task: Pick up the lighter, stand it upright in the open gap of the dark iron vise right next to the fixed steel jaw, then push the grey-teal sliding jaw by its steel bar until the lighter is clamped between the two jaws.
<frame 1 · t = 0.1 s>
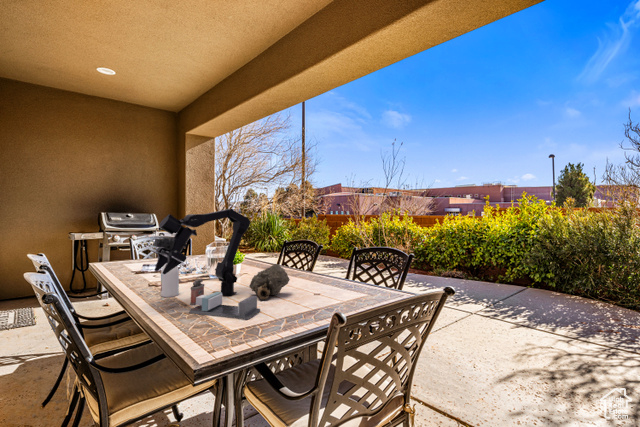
hand: (159, 272, 128), 15 cm above the table, tool tilted 35°, fingers open, 9 cm apart
vise: (225, 312, 124), on the table
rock: (266, 297, 147), on the table
milk bottle: (169, 295, 148), on the table
sliding jaw: (207, 300, 126), point 4 cm above the table, slide at 0.0 cm
lighter: (197, 303, 137), on the table
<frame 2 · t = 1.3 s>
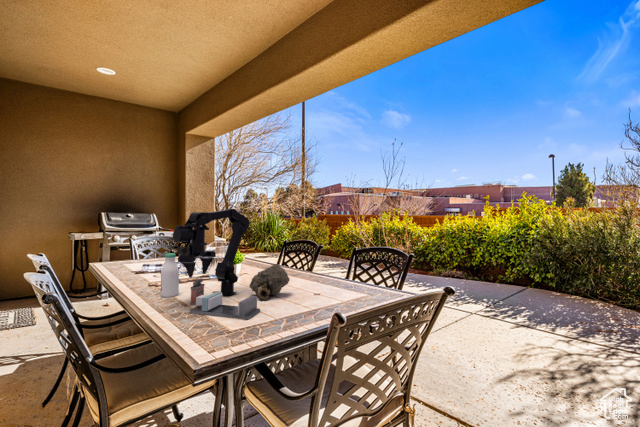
hand: (197, 275, 136), 12 cm above the table, tool pointing down, fingers open, 9 cm apart
nothing on the table moved.
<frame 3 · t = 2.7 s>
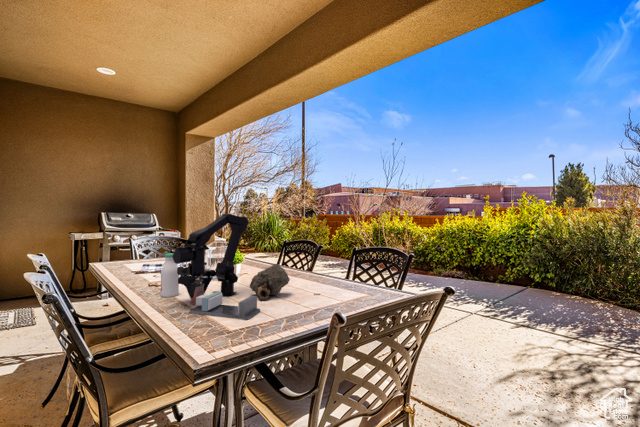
hand: (197, 295, 137), 3 cm above the table, tool pointing down, fingers closed on lighter, 8 cm apart
lighter: (197, 302, 137), on the table, touching gripper
everything else where it was.
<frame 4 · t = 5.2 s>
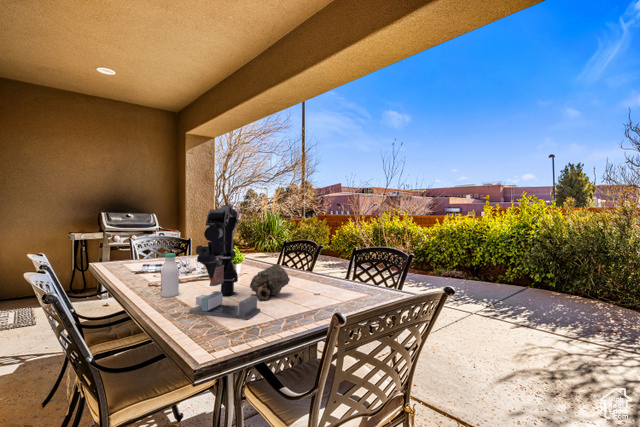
hand: (217, 276, 128), 13 cm above the table, tool pointing down, fingers closed on lighter, 8 cm apart
lighter: (216, 284, 128), point 10 cm above the table, touching gripper
everything else where it was.
when the fingers open (6 cm above the table, at t = 8.2 s): lighter drops 1 cm, resting on vise.
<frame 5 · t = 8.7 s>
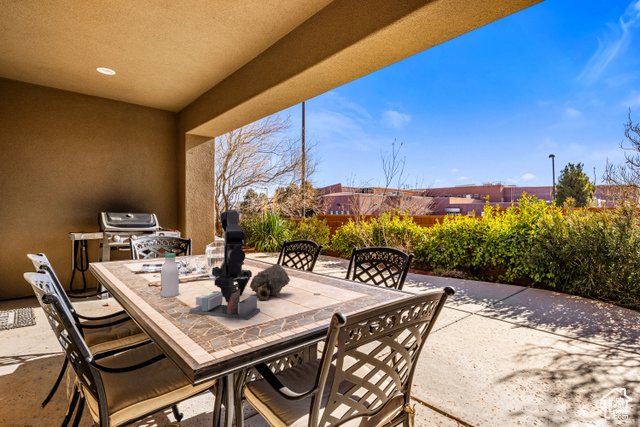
hand: (234, 299, 123), 6 cm above the table, tool pointing down, fingers open, 9 cm apart
lighter: (233, 310, 123), point 1 cm above the table, touching vise
everything else where it was.
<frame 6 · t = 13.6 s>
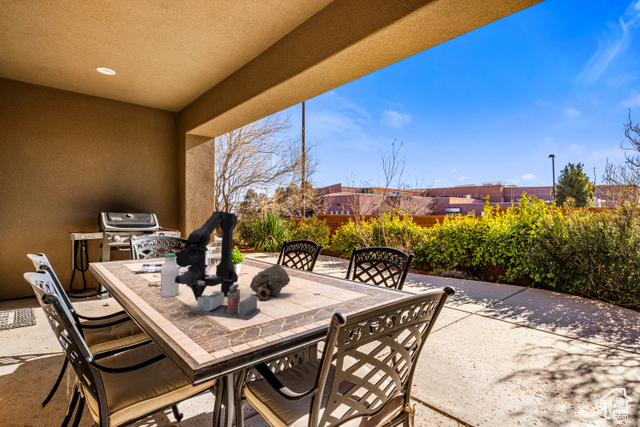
hand: (197, 300, 127), 4 cm above the table, tool pointing down, fingers closed
sliding jaw: (209, 300, 126), point 4 cm above the table, slide at 0.7 cm, touching gripper
everything else where it was.
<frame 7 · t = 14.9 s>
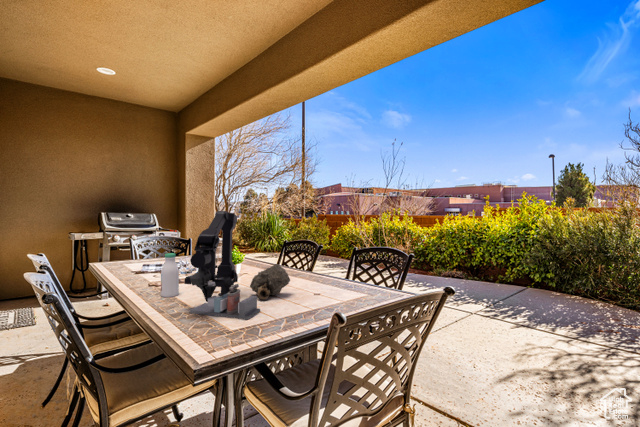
hand: (207, 301, 126), 4 cm above the table, tool pointing down, fingers closed
sliding jaw: (219, 301, 124), point 4 cm above the table, slide at 5.5 cm, touching gripper
everything else where it was.
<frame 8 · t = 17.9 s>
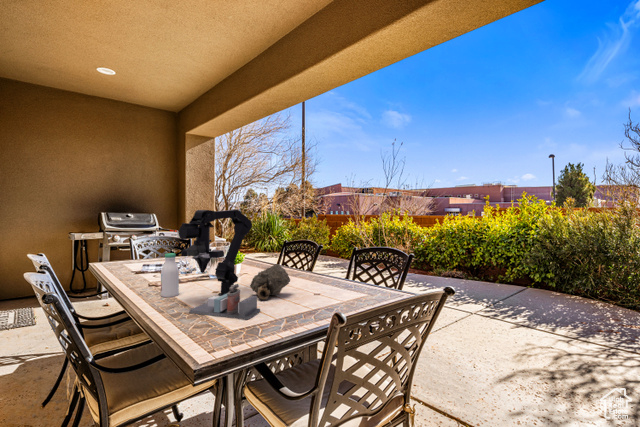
hand: (202, 272, 138), 13 cm above the table, tool pointing down, fingers closed
sliding jaw: (219, 301, 124), point 4 cm above the table, slide at 5.5 cm
everything else where it was.
at the end: lighter 0.6 cm from the target spot, point 1.0 cm above the table; lighter tilted 0°; sliding jaw slide at 5.5 cm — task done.
